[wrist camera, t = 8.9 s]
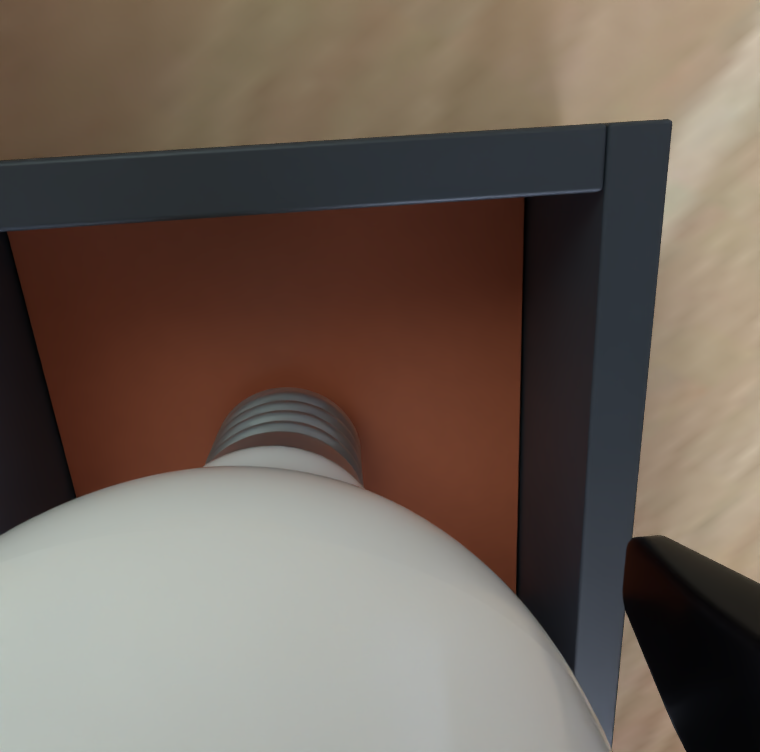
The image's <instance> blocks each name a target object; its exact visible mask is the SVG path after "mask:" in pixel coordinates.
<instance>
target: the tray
mask: <svg viewBox="0 0 760 752" xmlns="http://www.w3.org/2000/svg"><path fill="white" fill-rule="evenodd" d="M671 131H672V121H671V120H669V119H663V120H647V121H631V122H615V123H602V124H601V123H599V124H583V125H566V126H550V127H534V128H518V129H502V130H486V131H470V132H453V133H437V134H421V135H405V136H389V137H373V138H356V139H340V140H324V141H308V142H292V143H276V144H260V145H243V146H227V147H211V148H195V149H179V150H163V151H146V152H130V153H114V154H98V155H82V156H66V157H50V158H33V159H17V160H1V161H0V535H1V534H2V533H4V532H6V531H8V530H10V529H12V528H13V527H15V526H17V525H19V524H21V523H23V522H24V521H26V520H28V519H30V518H32V517H34V516H36V515H39V514H41V513H43V512H45V511H47V510H49V509H51V508H53V507H56V506H58V505H60V504H62V503H65V502H67V501H70V500H72V499H75V498H77V497H80V496H82V495H85V494H88V493H91V492H93V491H96V490H99V489H102V488H105V487H108V486H111V485H115V484H118V483H121V482H125V481H129V480H133V479H136V478H140V477H144V476H149V475H154V474H158V473H164V472H170V471H176V470H182V469H190V468H198V467H202V466H204V465H205V463H206V460H207V458H208V455H209V453H210V451H211V448H212V446H213V443H214V441H215V438H216V436H217V434H218V432H219V430H220V428H221V425H222V423H223V422H224V420H225V418H226V417H227V415H228V414H229V413H230V412H231V411H232V410H233V409H234V408H235V407H236V406H237V405H238V404H239V403H240V402H242V401H243V400H245V399H246V398H248V397H250V396H252V395H254V394H256V393H258V392H261V391H264V390H268V389H273V388H281V387H292V388H301V389H305V390H309V391H312V392H315V393H318V394H320V395H322V396H324V397H326V398H328V399H329V400H331V401H332V402H334V403H335V404H336V405H337V406H339V407H340V408H341V409H342V410H343V411H344V412H345V414H346V415H347V416H348V417H349V419H350V420H351V422H352V423H353V425H354V427H355V429H356V431H357V434H358V437H359V441H360V447H361V461H362V474H363V486H364V488H365V489H367V490H370V491H372V492H374V493H377V494H379V495H381V496H384V497H386V498H388V499H390V500H392V501H394V502H396V503H398V504H400V505H402V506H404V507H406V508H408V509H410V510H412V511H413V512H415V513H417V514H419V515H420V516H422V517H424V518H425V519H427V520H428V521H430V522H432V523H433V524H435V525H436V526H438V527H439V528H441V529H442V530H444V531H445V532H447V533H448V534H449V535H451V536H452V537H453V538H455V539H456V540H457V541H459V542H460V543H461V544H463V545H464V546H465V547H467V548H468V549H469V550H470V551H471V552H473V553H474V554H475V555H476V556H477V557H479V558H480V559H481V560H482V561H483V562H484V563H485V564H486V565H487V566H488V567H489V568H491V569H492V570H493V571H494V572H495V573H496V574H497V575H498V576H499V577H500V578H501V579H502V580H503V581H504V582H505V583H506V584H507V585H508V586H509V588H510V589H511V590H512V591H513V592H514V593H515V594H516V595H517V596H518V597H519V598H520V600H521V601H522V602H523V603H524V604H525V605H526V607H527V608H528V609H529V610H530V611H531V613H532V614H533V615H534V616H535V618H536V619H537V620H538V621H539V623H540V624H541V625H542V627H543V628H544V629H545V631H546V632H547V634H548V635H549V636H550V638H551V639H552V640H553V642H554V643H555V645H556V646H557V648H558V649H559V651H560V652H561V654H562V655H563V657H564V659H565V660H566V662H567V663H568V665H569V666H570V668H571V670H572V671H573V673H574V675H575V677H576V678H577V680H578V682H579V684H580V685H581V687H582V689H583V691H584V693H585V694H586V696H587V698H588V700H589V702H590V704H591V706H592V708H593V710H594V712H595V714H596V716H597V718H598V720H599V722H600V724H601V726H602V728H603V730H604V733H605V735H606V737H607V740H608V742H609V744H610V747H611V749H612V740H613V730H614V720H615V709H616V699H617V689H618V678H619V668H620V658H621V647H622V637H623V627H624V616H625V607H624V603H623V597H622V587H623V576H624V566H625V555H626V547H627V544H628V542H629V541H630V540H631V539H632V534H633V523H634V513H635V503H636V492H637V482H638V472H639V461H640V451H641V441H642V430H643V420H644V410H645V399H646V389H647V379H648V368H649V358H650V348H651V337H652V327H653V317H654V306H655V296H656V286H657V275H658V265H659V255H660V244H661V234H662V224H663V213H664V203H665V193H666V182H667V172H668V162H669V151H670V141H671Z"/></svg>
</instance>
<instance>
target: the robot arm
mask: <svg viewBox="0 0 760 752" xmlns="http://www.w3.org/2000/svg"><path fill="white" fill-rule="evenodd" d="M622 597H623V603H624V607H625V610H626V613H627V616H628V618H629V620H630V623H631V625H632V628H633V630H634V633H635V635H636V637H637V640H638V642H639V645H640V647H641V650H642V652H643V654H644V657H645V659H646V662H647V664H648V667H649V669H650V671H651V674H652V676H653V679H654V681H655V684H656V686H657V688H658V691H659V693H660V696H661V698H662V701H663V703H664V705H665V708H666V710H667V712H668V715H669V717H670V719H671V722H672V724H673V726H674V728H675V730H676V732H677V734H678V736H679V738H680V740H681V742H682V744H683V746H684V748H685V750H686V752H760V584H759V583H757V582H755V581H753V580H751V579H749V578H747V577H745V576H743V575H741V574H739V573H737V572H735V571H733V570H731V569H729V568H727V567H725V566H723V565H721V564H719V563H717V562H715V561H713V560H711V559H709V558H707V557H705V556H703V555H701V554H699V553H697V552H695V551H693V550H691V549H689V548H687V547H685V546H683V545H681V544H679V543H677V542H675V541H673V540H671V539H669V538H667V537H665V536H661V535H655V536H645V537H634V538H632V539H631V540H630V541H629V542H628V544H627V547H626V555H625V566H624V576H623V587H622Z"/></svg>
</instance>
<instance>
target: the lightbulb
mask: <svg viewBox="0 0 760 752" xmlns="http://www.w3.org/2000/svg"><path fill="white" fill-rule="evenodd" d="M0 752H613V751H612V749H611V747H610V744H609V742H608V740H607V737H606V735H605V733H604V730H603V728H602V726H601V724H600V722H599V720H598V718H597V716H596V714H595V712H594V710H593V708H592V706H591V704H590V702H589V700H588V698H587V696H586V694H585V693H584V691H583V689H582V687H581V685H580V684H579V682H578V680H577V678H576V677H575V675H574V673H573V671H572V670H571V668H570V666H569V665H568V663H567V662H566V660H565V659H564V657H563V655H562V654H561V652H560V651H559V649H558V648H557V646H556V645H555V643H554V642H553V640H552V639H551V638H550V636H549V635H548V634H547V632H546V631H545V629H544V628H543V627H542V625H541V624H540V623H539V621H538V620H537V619H536V618H535V616H534V615H533V614H532V613H531V611H530V610H529V609H528V608H527V607H526V605H525V604H524V603H523V602H522V601H521V600H520V598H519V597H518V596H517V595H516V594H515V593H514V592H513V591H512V590H511V589H510V588H509V586H508V585H507V584H506V583H505V582H504V581H503V580H502V579H501V578H500V577H499V576H498V575H497V574H496V573H495V572H494V571H493V570H492V569H491V568H489V567H488V566H487V565H486V564H485V563H484V562H483V561H482V560H481V559H480V558H479V557H477V556H476V555H475V554H474V553H473V552H471V551H470V550H469V549H468V548H467V547H465V546H464V545H463V544H461V543H460V542H459V541H457V540H456V539H455V538H453V537H452V536H451V535H449V534H448V533H447V532H445V531H444V530H442V529H441V528H439V527H438V526H436V525H435V524H433V523H432V522H430V521H428V520H427V519H425V518H424V517H422V516H420V515H419V514H417V513H415V512H413V511H412V510H410V509H408V508H406V507H404V506H402V505H400V504H398V503H396V502H394V501H392V500H390V499H388V498H386V497H384V496H381V495H379V494H377V493H374V492H372V491H370V490H367V489H365V488H364V486H363V474H362V461H361V447H360V441H359V437H358V434H357V431H356V429H355V427H354V425H353V423H352V422H351V420H350V419H349V417H348V416H347V415H346V414H345V412H344V411H343V410H342V409H341V408H340V407H339V406H337V405H336V404H335V403H334V402H332V401H331V400H329V399H328V398H326V397H324V396H322V395H320V394H318V393H315V392H312V391H309V390H305V389H301V388H292V387H281V388H273V389H268V390H264V391H261V392H258V393H256V394H254V395H252V396H250V397H248V398H246V399H245V400H243V401H242V402H240V403H239V404H238V405H237V406H236V407H235V408H234V409H233V410H232V411H231V412H230V413H229V414H228V415H227V417H226V418H225V420H224V422H223V423H222V425H221V428H220V430H219V432H218V434H217V436H216V438H215V441H214V443H213V446H212V448H211V451H210V453H209V455H208V458H207V460H206V463H205V465H204V466H202V467H198V468H190V469H182V470H176V471H170V472H164V473H158V474H154V475H149V476H144V477H140V478H136V479H133V480H129V481H125V482H121V483H118V484H115V485H111V486H108V487H105V488H102V489H99V490H96V491H93V492H91V493H88V494H85V495H82V496H80V497H77V498H75V499H72V500H70V501H67V502H65V503H62V504H60V505H58V506H56V507H53V508H51V509H49V510H47V511H45V512H43V513H41V514H39V515H36V516H34V517H32V518H30V519H28V520H26V521H24V522H23V523H21V524H19V525H17V526H15V527H13V528H12V529H10V530H8V531H6V532H4V533H2V534H1V535H0Z"/></svg>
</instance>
